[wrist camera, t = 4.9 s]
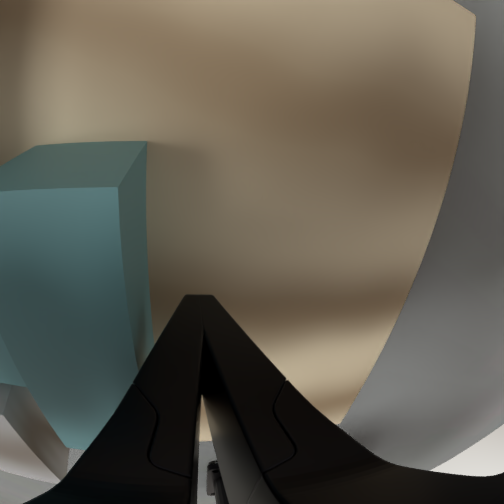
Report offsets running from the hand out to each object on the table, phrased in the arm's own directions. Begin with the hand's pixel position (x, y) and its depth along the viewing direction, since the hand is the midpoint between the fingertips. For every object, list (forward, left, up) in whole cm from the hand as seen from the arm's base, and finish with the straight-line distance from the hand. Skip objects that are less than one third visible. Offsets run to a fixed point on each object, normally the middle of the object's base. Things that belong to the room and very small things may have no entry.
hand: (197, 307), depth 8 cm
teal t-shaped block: (0, +8, -1) cm, 9 cm away
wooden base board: (0, +5, -2) cm, 6 cm away
